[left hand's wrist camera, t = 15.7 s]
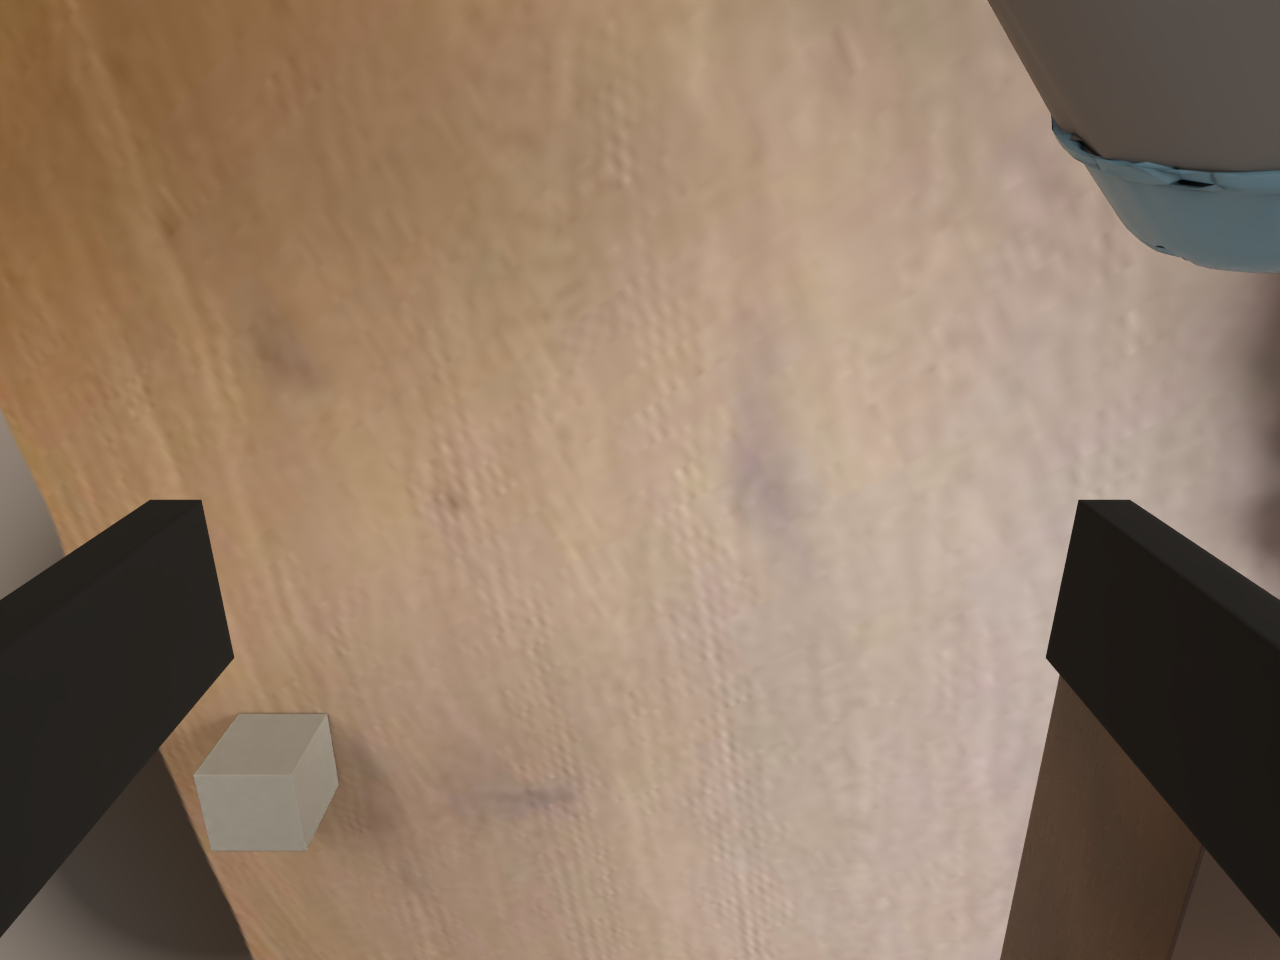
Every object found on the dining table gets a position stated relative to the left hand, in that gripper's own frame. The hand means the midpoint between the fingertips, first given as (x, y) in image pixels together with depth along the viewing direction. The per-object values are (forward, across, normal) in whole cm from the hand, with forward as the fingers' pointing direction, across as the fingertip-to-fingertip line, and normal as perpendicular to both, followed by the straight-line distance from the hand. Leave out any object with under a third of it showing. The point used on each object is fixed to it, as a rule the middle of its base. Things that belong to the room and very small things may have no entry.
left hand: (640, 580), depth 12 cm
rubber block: (+27, -20, -25) cm, 42 cm away
